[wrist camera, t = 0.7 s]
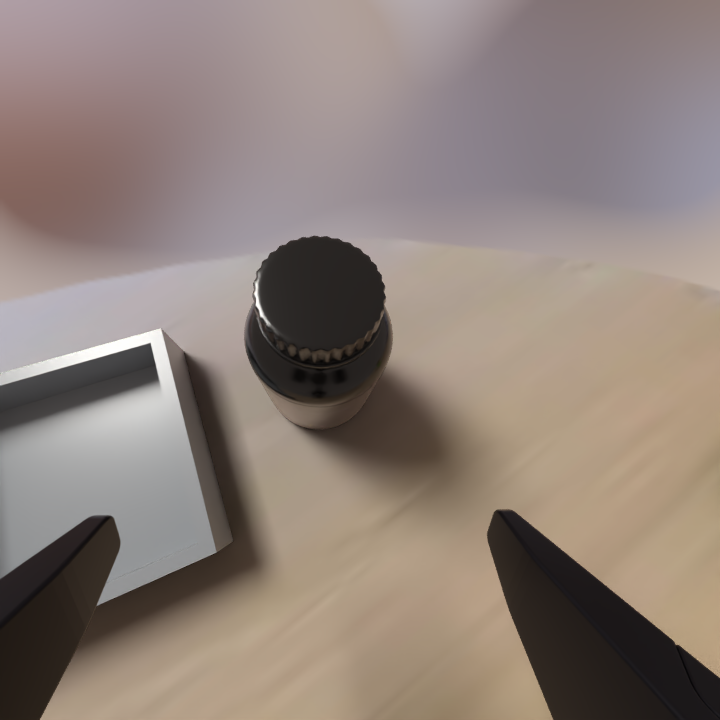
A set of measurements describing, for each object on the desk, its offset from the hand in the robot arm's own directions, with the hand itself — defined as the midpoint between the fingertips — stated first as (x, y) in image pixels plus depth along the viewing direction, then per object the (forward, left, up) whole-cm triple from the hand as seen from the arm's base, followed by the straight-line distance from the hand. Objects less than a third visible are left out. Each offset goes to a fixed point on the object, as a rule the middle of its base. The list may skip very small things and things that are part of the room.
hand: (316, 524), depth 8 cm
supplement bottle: (+7, -3, -14) cm, 15 cm away
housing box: (+6, +11, -13) cm, 18 cm away
